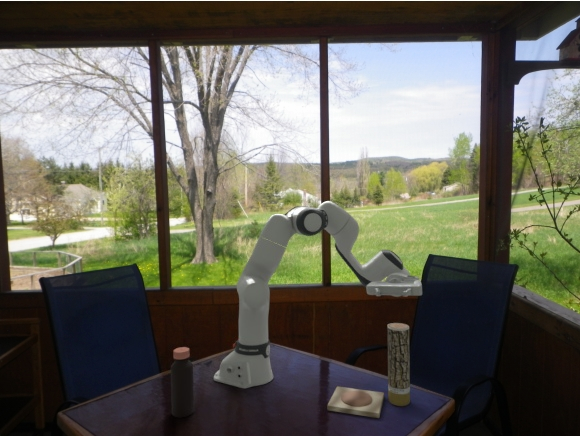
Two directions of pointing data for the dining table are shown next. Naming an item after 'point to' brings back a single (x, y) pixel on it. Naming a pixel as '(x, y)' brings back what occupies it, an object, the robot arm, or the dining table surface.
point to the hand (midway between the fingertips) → (391, 294)
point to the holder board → (356, 402)
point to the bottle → (182, 383)
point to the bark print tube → (398, 364)
